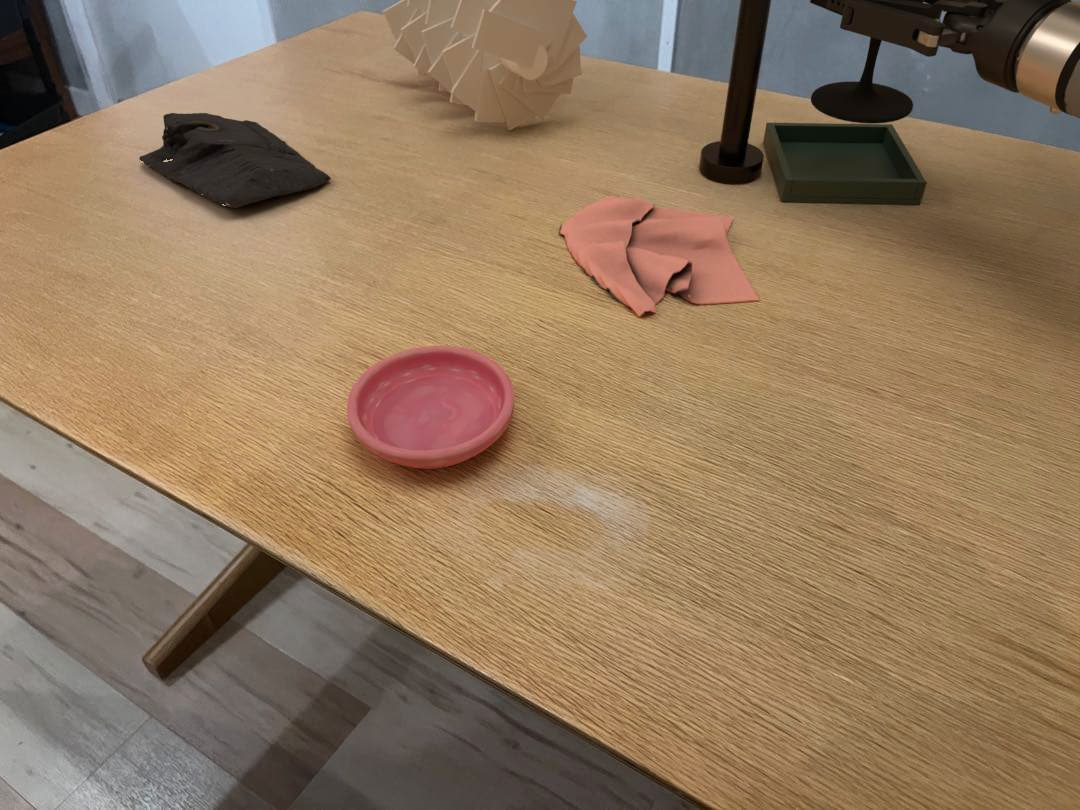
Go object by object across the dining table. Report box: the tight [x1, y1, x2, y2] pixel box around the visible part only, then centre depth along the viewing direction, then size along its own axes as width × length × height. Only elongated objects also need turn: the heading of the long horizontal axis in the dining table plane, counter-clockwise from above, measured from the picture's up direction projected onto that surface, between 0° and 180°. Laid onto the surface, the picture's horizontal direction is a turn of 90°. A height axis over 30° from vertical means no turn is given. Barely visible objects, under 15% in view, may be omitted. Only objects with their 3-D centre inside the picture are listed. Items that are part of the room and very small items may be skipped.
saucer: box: [346, 345, 516, 470], centre depth 62 cm, size 12×12×3 cm
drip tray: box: [762, 122, 928, 206], centre depth 93 cm, size 15×15×3 cm
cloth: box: [558, 195, 760, 318], centre depth 80 cm, size 20×22×2 cm
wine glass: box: [810, 0, 925, 124], centre depth 80 cm, size 10×10×20 cm
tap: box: [698, 0, 772, 185], centre depth 83 cm, size 10×7×34 cm, turn 86°
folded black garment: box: [138, 112, 331, 209], centre depth 94 cm, size 15×22×5 cm
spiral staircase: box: [382, 0, 588, 131], centre depth 103 cm, size 18×18×25 cm
